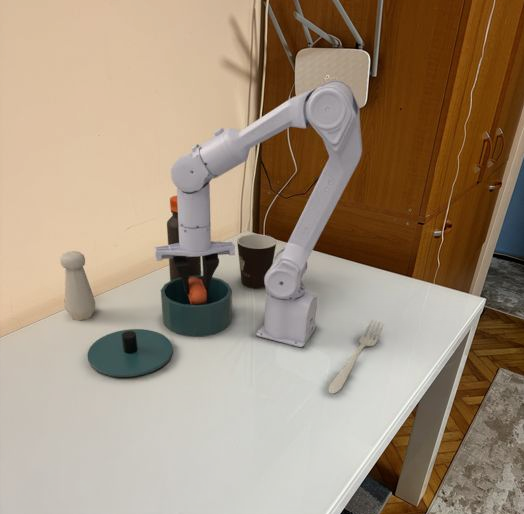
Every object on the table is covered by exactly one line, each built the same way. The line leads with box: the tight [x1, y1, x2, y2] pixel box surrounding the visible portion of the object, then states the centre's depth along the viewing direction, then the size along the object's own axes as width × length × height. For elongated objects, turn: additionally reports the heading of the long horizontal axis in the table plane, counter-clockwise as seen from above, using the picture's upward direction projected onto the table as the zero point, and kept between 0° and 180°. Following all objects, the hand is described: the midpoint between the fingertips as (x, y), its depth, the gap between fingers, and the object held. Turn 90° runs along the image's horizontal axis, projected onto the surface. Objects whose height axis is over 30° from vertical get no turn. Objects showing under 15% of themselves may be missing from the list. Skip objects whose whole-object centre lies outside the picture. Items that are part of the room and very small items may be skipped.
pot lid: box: [87, 328, 173, 378], centre depth 88 cm, size 14×14×4 cm
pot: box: [160, 275, 233, 338], centre depth 100 cm, size 13×13×6 cm
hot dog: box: [188, 277, 207, 305], centre depth 98 cm, size 9×3×3 cm, turn 16°
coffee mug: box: [236, 233, 277, 290], centre depth 115 cm, size 12×9×10 cm
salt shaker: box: [59, 250, 96, 321], centre depth 97 cm, size 6×6×13 cm
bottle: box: [166, 195, 202, 281], centre depth 108 cm, size 7×7×20 cm
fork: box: [328, 319, 385, 395], centre depth 91 cm, size 3×24×2 cm, turn 152°
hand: (196, 291), depth 98 cm, fingers closed on hot dog, 3 cm apart
